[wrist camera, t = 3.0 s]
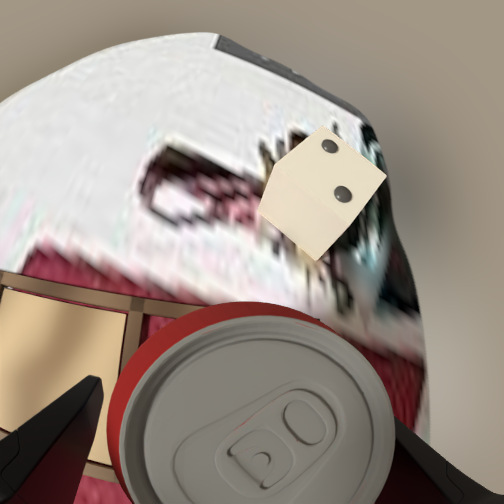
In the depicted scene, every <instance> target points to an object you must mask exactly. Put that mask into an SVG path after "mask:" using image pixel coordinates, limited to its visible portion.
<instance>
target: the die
mask: <svg viewBox="0 0 504 504" xmlns="http://www.w3.org/2000/svg"><path fill="white" fill-rule="evenodd" d="M385 177H386V175H385V174H384V173H383V172H382V171H381V170H379V169H378V168H377V167H376V166H375V165H373V164H372V163H371V162H370V161H368V160H367V159H366V158H365V157H364V156H362V155H361V154H360V153H359V152H357V151H356V150H355V149H353V148H352V147H351V146H350V145H348V144H347V143H346V142H344V141H343V140H342V139H341V138H339V137H338V136H337V135H335V134H334V133H333V132H331V131H330V130H328V129H327V128H326V127H324V126H321V127H320V128H319V129H318V130H316V131H315V132H314V133H313V134H311V135H310V136H309V137H308V138H306V139H305V140H304V141H303V142H301V143H300V144H299V145H298V146H297V147H295V148H294V149H293V150H292V151H290V152H289V153H288V154H287V155H286V156H284V157H283V158H282V159H281V160H280V161H278V162H277V163H276V164H275V165H274V168H273V170H272V173H271V176H270V178H269V181H268V184H267V186H266V189H265V191H264V194H263V197H262V199H261V202H260V205H259V207H258V210H257V212H259V213H260V214H261V215H262V216H263V217H265V218H266V219H267V220H268V221H269V222H271V223H272V224H273V225H274V226H275V227H277V228H278V229H279V230H280V231H281V232H282V233H284V234H285V235H286V236H287V237H288V238H290V239H291V240H292V241H293V242H294V243H295V244H297V245H298V246H299V247H300V248H301V249H302V250H304V251H305V252H306V253H307V254H308V255H309V256H311V257H312V258H313V259H314V260H315V261H317V260H318V259H319V258H320V257H321V256H322V255H323V254H324V253H325V252H326V251H327V249H328V248H329V247H330V246H331V245H332V244H333V243H334V242H335V241H336V240H337V239H338V238H339V237H340V236H341V234H342V233H343V232H344V231H345V230H346V229H347V228H348V227H349V226H350V224H351V223H352V222H353V221H354V219H355V218H356V217H357V215H358V214H359V213H360V211H361V210H362V209H363V207H364V206H365V205H366V203H367V202H368V201H369V199H370V198H371V197H372V195H373V194H374V193H375V191H376V190H377V188H378V187H379V186H380V184H381V183H382V182H383V180H384V179H385Z"/></svg>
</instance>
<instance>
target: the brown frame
mask: <svg viewBox="0 0 504 504" xmlns="http://www.w3.org/2000/svg"><path fill="white" fill-rule="evenodd" d="M3 286H8V287H12V288H16V289H20V290H25V291H29V292H33V293H37V294H42V295H46V296H50V297H55V298H60V299H64V300H69V301H74V302H79V303H84V304H89V305H94V306H100V307H105V308H110V309H116V310H122V311H128V312H129V315H128V321H127V327H126V334H125V341H124V348H123V356H122V364H121V372H122V370H123V369H124V367H125V365H126V364H127V362H128V361H129V359H130V358H131V357H132V355H133V354H134V353H135V352H136V351H137V349H138V348H139V346H140V339H141V332H142V325H143V318H144V314H146V315H152V316H159V317H165V318H172V319H177V318H179V317H181V316H183V315H185V314H188V313H190V312H193V311H195V310H198V309H201V308H204V307H200V306H192V305H185V304H178V303H170V302H164V301H157V300H150V299H144V298H137V297H131V296H125V295H119V294H113V293H107V292H102V291H96V290H90V289H85V288H80V287H74V286H69V285H64V284H59V283H54V282H49V281H44V280H40V279H35V278H30V277H26V276H21V275H17V274H12V273H8V272H4V271H0V299H1V295H2V290H3ZM126 316H127V315H126V314H121V313H116V312H110V311H105V310H99V309H94V308H89V307H84V306H79V305H74V304H69V303H65V302H60V301H55V300H51V299H47V298H42V297H38V296H34V295H29V294H25V293H21V292H17V291H13V290H9V289H6V288H4V291H3V295H2V299H1V303H0V427H1V428H3V429H5V430H7V431H10V432H13V431H14V430H15V429H17V428H18V427H19V426H21V425H22V424H23V423H25V422H26V421H27V420H29V419H30V418H31V417H33V416H34V415H35V414H37V413H38V412H39V411H41V410H42V409H43V408H45V407H46V406H47V405H49V404H50V403H51V402H53V401H54V400H56V399H57V398H58V397H60V396H61V395H62V394H64V393H65V392H66V391H68V390H69V389H70V388H72V387H73V386H74V385H76V384H77V383H78V382H80V381H81V380H82V379H84V378H85V377H86V376H88V375H94V376H97V377H100V378H101V379H102V385H103V391H104V401H103V405H102V409H101V413H100V417H99V421H98V426H97V430H96V435H95V439H94V442H93V445H92V448H91V451H90V454H89V456H88V459H89V460H93V461H97V462H101V463H105V464H109V465H112V464H111V460H110V456H109V452H108V446H107V435H106V424H107V414H108V407H109V403H110V399H111V395H112V392H113V390H114V387H115V384H116V382H117V380H118V373H119V365H120V357H121V349H122V342H123V335H124V328H125V322H126ZM317 320H319V321H320V319H317ZM121 372H120V374H121ZM7 435H9V433H7V432H5V431H2V430H0V440H1V439H3V438H4V437H6V436H7ZM83 475H87V476H90V477H94V478H98V479H102V480H106V481H110V482H114V483H118V484H120V483H119V481H118V479H117V477H116V475H115V472H114V470H113V468H112V467H107V466H103V465H99V464H95V463H92V462H88V461H87V462H86V465H85V468H84V471H83Z"/></svg>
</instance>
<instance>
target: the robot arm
mask: <svg viewBox="0 0 504 504" xmlns="http://www.w3.org/2000/svg"><path fill="white" fill-rule="evenodd" d="M103 401H104V391H103V385H102V379H101V378H100V377H97V376H94V375H88V376H86V377H85V378H84V379H82V380H81V381H80V382H78V383H77V384H76V385H74V386H73V387H72V388H70V389H69V390H68V391H66V392H65V393H64V394H62V395H61V396H60V397H58V398H57V399H56V400H54V401H53V402H51V403H50V404H49V405H47V406H46V407H45V408H43V409H42V410H41V411H39V412H38V413H37V414H35V415H34V416H33V417H31V418H30V419H29V420H27V421H26V422H25V423H23V424H22V425H21V426H19V427H18V428H17V429H15V430H14V431H13V432H11V433H10V434H9V435H7V436H6V437H4V438H3V439H1V440H0V504H73V503H74V499H75V496H76V493H77V490H78V486H79V483H80V480H81V477H82V474H83V471H84V468H85V465H86V462H87V459H88V456H89V454H90V451H91V448H92V445H93V442H94V439H95V435H96V430H97V426H98V421H99V417H100V413H101V409H102V405H103ZM394 422H395V448H394V455H393V460H392V464H391V468H390V471H389V474H388V477H387V479H386V482H385V484H384V486H383V489H382V490H381V492H380V494H379V496H378V498H377V499H376V501H375V502H374V503H375V504H504V495H500V494H496V493H493V492H491V491H489V490H487V489H486V488H485V487H483V486H482V485H480V484H478V483H477V482H475V481H474V480H472V479H471V478H469V477H468V476H466V475H465V474H464V473H462V472H461V471H459V470H458V469H456V468H455V467H454V466H453V465H452V464H451V463H449V462H448V461H446V459H445V458H443V457H442V456H441V455H440V454H439V453H437V452H436V451H435V450H434V449H433V448H431V447H430V446H429V445H428V444H427V443H425V442H424V441H423V440H422V439H421V438H419V437H418V436H417V435H416V434H415V433H414V432H412V431H411V430H410V429H409V428H408V427H407V426H405V425H404V424H403V423H402V422H401V421H400V420H398V419H397V418H396V417H395V416H394Z"/></svg>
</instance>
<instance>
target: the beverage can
mask: <svg viewBox="0 0 504 504" xmlns="http://www.w3.org/2000/svg"><path fill="white" fill-rule="evenodd" d="M106 435H107V446H108V452H109V456H110V460H111V464H112V467H113V470H114V472H115V475H116V477H117V479H118V481H119V483H120V485H121V487H122V489H123V491H124V492H125V494H126V495H127V497H128V498H129V500H130V501H131V502H132V504H374V502H375V501H376V499H377V498H378V496H379V494H380V492H381V490H382V489H383V486H384V484H385V482H386V479H387V477H388V474H389V471H390V468H391V464H392V460H393V455H394V448H395V422H394V415H393V410H392V406H391V402H390V399H389V396H388V394H387V391H386V389H385V387H384V385H383V382H382V380H381V379H380V377H379V375H378V374H377V372H376V371H375V369H374V368H373V367H372V365H371V364H370V362H369V361H368V360H367V359H366V358H365V357H364V356H363V355H362V354H361V353H360V352H359V351H358V350H357V349H356V348H355V347H354V346H352V345H351V344H350V343H348V342H347V341H346V340H344V339H343V338H342V337H341V336H340V335H339V334H337V333H336V332H335V331H334V330H332V329H331V328H330V327H328V326H327V325H325V324H324V323H322V322H320V321H319V320H317V319H315V318H313V317H311V316H309V315H307V314H304V313H302V312H300V311H297V310H294V309H291V308H288V307H284V306H280V305H276V304H270V303H263V302H229V303H222V304H217V305H212V306H208V307H204V308H201V309H198V310H195V311H193V312H190V313H188V314H185V315H183V316H181V317H179V318H177V319H175V320H173V321H172V322H170V323H168V324H167V325H165V326H164V327H162V328H161V329H159V330H158V331H157V332H156V333H154V334H153V335H152V336H151V337H149V338H148V339H147V340H146V341H145V342H144V343H143V344H142V345H141V346H140V347H139V348H138V349H137V351H136V352H135V353H134V354H133V355H132V357H131V358H130V359H129V361H128V362H127V364H126V365H125V367H124V369H123V370H122V372H121V374H120V376H119V378H118V380H117V382H116V384H115V387H114V390H113V392H112V395H111V399H110V403H109V407H108V414H107V424H106Z"/></svg>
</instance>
